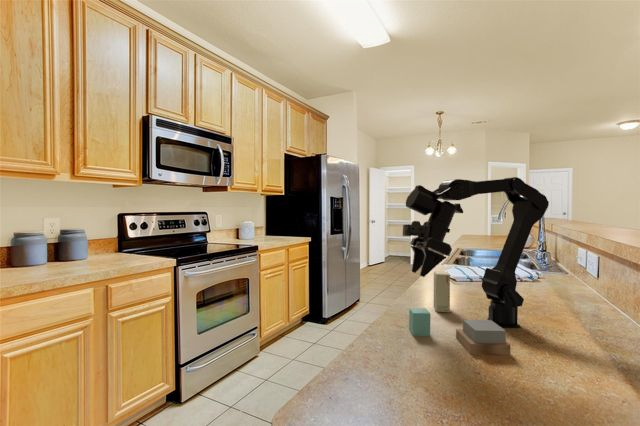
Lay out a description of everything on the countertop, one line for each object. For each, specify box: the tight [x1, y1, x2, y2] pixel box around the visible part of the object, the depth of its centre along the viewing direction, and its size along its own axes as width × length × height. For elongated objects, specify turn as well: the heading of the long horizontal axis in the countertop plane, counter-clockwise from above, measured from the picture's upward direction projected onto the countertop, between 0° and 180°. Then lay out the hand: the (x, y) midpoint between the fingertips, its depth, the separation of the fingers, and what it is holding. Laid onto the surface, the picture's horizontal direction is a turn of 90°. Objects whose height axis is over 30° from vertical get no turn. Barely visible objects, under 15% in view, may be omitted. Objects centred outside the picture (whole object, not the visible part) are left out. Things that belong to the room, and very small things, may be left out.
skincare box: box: [433, 270, 451, 314], centre depth 108 cm, size 6×4×12 cm
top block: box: [462, 319, 507, 344], centre depth 80 cm, size 7×7×3 cm
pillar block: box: [408, 307, 431, 337], centre depth 89 cm, size 4×4×6 cm
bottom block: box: [455, 328, 511, 356], centre depth 81 cm, size 9×9×3 cm
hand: (417, 274), depth 91 cm, fingers open, 9 cm apart
